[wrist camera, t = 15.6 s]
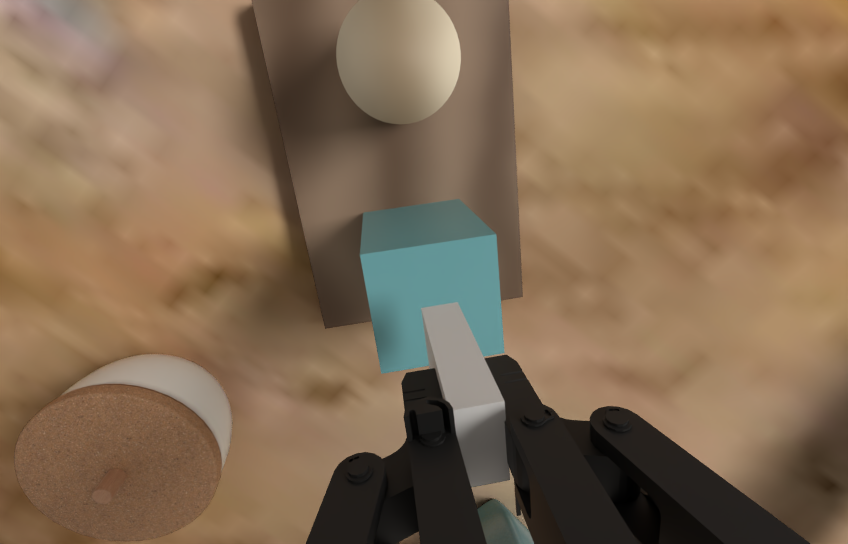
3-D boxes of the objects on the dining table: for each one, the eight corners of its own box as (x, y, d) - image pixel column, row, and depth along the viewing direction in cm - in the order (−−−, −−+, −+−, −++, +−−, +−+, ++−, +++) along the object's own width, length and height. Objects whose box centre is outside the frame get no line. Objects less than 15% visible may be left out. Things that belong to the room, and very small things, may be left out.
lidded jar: (277, 372, 33) (243, 466, 24) (209, 472, 35) (154, 591, 26) (134, 300, 30) (35, 378, 21) (69, 414, 32) (-45, 527, 23)
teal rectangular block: (458, 198, 28) (496, 233, 20) (467, 287, 30) (504, 352, 22) (363, 212, 28) (359, 254, 19) (378, 301, 30) (381, 373, 22)
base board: (499, -25, 26) (506, -33, 24) (516, 288, 33) (522, 296, 31) (257, 2, 25) (250, -5, 23) (327, 319, 32) (325, 328, 30)
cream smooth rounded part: (432, 16, 26) (454, -21, 19) (442, 116, 28) (466, 116, 21) (337, 27, 26) (324, -6, 19) (354, 127, 28) (348, 131, 21)
